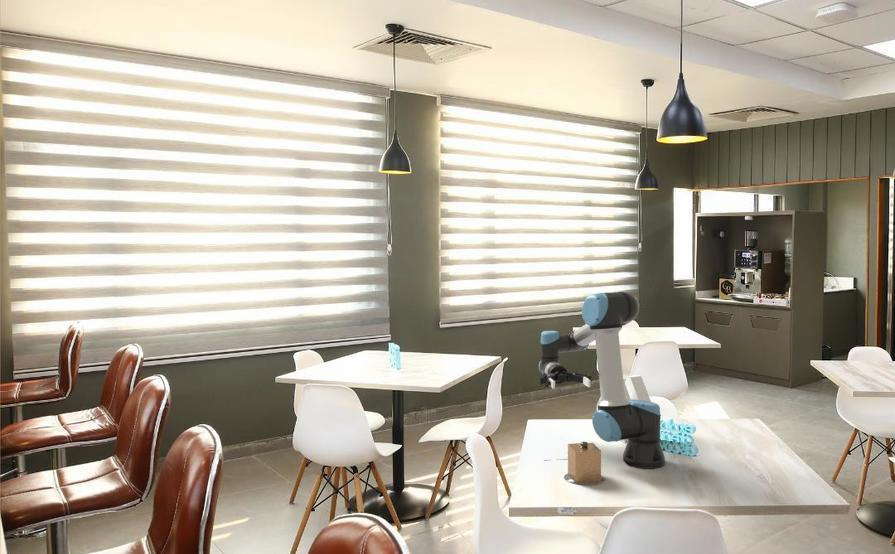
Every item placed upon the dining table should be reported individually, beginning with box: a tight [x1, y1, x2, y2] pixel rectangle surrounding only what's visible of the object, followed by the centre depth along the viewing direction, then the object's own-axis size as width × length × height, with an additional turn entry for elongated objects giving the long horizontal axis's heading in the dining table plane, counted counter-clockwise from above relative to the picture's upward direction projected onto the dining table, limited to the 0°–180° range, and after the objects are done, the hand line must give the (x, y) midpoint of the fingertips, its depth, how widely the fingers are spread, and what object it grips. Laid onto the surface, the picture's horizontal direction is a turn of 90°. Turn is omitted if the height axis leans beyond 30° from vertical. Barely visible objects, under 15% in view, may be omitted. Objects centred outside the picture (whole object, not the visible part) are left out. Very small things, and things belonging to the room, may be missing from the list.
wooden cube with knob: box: [567, 441, 602, 483], centre depth 236 cm, size 9×9×13 cm
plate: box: [563, 472, 606, 487], centre depth 236 cm, size 14×14×1 cm
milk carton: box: [596, 374, 652, 444], centre depth 289 cm, size 19×15×25 cm
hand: (571, 384), depth 252 cm, fingers open, 13 cm apart
